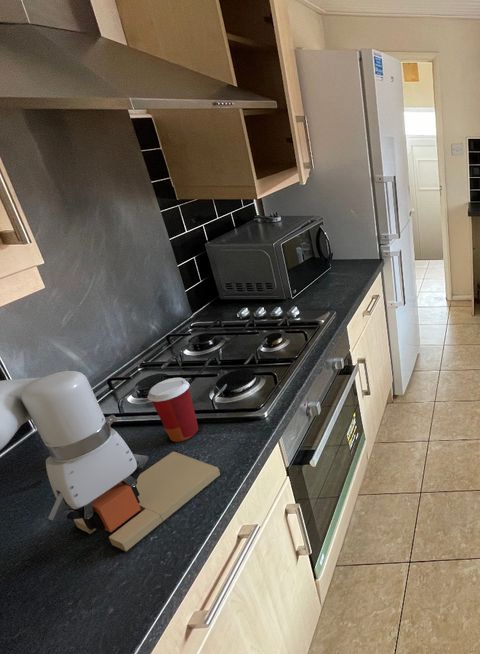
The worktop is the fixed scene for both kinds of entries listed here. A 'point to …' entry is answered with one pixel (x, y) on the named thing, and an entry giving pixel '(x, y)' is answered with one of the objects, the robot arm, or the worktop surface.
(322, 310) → the worktop surface
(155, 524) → the base pad
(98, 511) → the orange block
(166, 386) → the paper cup
